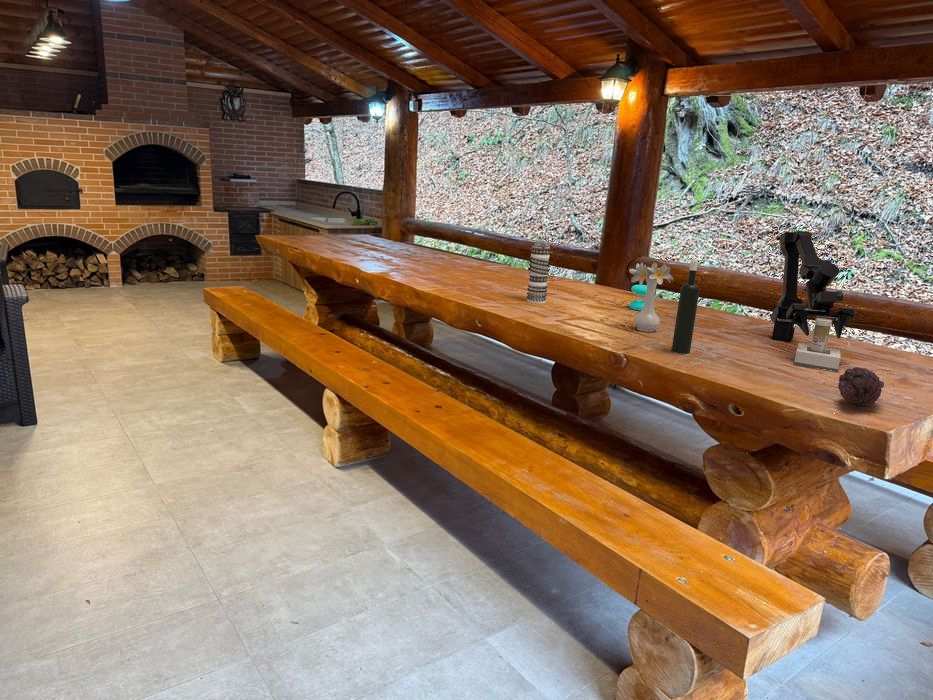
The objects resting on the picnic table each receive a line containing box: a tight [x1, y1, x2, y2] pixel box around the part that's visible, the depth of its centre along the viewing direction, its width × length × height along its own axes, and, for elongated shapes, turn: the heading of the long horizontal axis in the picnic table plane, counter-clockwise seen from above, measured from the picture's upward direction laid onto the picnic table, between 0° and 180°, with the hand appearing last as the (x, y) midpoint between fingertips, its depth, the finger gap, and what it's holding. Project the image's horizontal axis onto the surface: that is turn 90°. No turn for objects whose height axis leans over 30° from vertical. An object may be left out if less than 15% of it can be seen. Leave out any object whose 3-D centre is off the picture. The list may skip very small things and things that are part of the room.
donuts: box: [628, 284, 657, 312], centre depth 274 cm, size 10×10×10 cm
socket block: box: [793, 343, 841, 372], centre depth 203 cm, size 12×12×4 cm
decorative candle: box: [526, 242, 551, 304], centre depth 276 cm, size 9×9×25 cm
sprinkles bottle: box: [810, 317, 833, 354], centre depth 202 cm, size 5×5×14 cm
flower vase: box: [628, 262, 675, 333], centre depth 234 cm, size 13×18×25 cm
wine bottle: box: [671, 258, 701, 355], centre depth 206 cm, size 6×6×30 cm
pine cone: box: [837, 366, 885, 407], centre depth 165 cm, size 18×10×10 cm, turn 131°
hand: (823, 336), depth 200 cm, fingers open, 9 cm apart
